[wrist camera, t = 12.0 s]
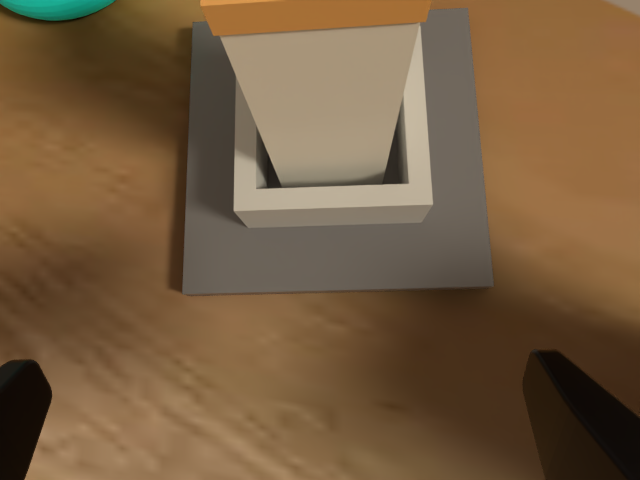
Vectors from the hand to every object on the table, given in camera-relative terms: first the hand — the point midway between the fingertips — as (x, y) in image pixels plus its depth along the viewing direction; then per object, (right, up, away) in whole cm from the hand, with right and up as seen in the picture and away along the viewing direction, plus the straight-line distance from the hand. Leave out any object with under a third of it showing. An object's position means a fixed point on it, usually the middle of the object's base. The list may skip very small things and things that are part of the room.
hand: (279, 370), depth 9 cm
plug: (+1, +7, +14) cm, 16 cm away
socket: (+1, +7, +15) cm, 17 cm away
